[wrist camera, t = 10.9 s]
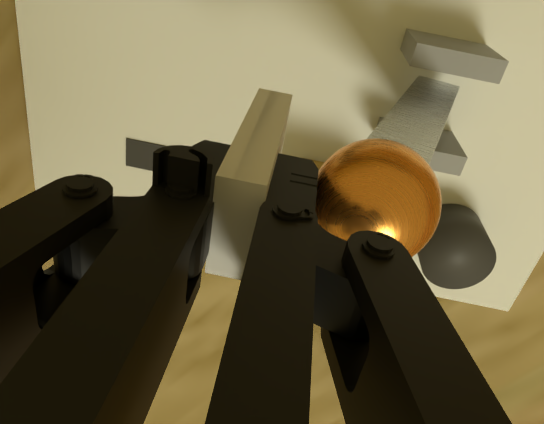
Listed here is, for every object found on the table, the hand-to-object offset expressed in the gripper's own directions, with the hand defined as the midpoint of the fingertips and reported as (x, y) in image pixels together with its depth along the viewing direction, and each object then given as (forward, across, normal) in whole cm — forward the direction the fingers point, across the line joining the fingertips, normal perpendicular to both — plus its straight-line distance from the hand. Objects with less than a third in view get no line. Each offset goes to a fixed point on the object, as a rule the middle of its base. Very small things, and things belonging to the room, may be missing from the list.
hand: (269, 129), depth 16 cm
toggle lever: (+8, -7, 0) cm, 11 cm away
